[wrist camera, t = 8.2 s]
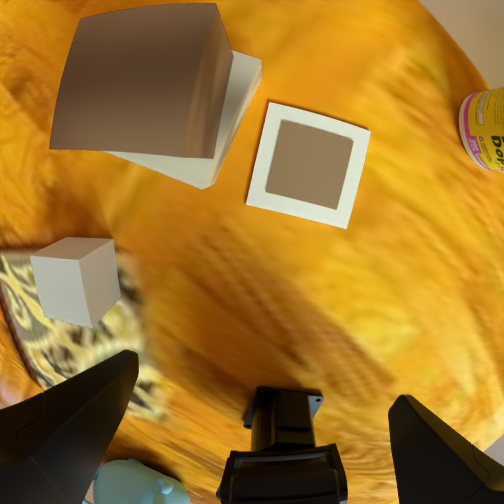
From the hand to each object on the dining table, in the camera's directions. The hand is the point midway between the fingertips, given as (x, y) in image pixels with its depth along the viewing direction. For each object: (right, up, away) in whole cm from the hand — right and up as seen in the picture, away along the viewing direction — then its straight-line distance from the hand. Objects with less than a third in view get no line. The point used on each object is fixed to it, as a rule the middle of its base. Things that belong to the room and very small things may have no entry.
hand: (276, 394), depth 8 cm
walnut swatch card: (+3, +10, +10) cm, 14 cm away
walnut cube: (-5, +13, +5) cm, 15 cm away
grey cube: (-14, +3, +13) cm, 19 cm away
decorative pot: (-18, -32, +24) cm, 44 cm away
